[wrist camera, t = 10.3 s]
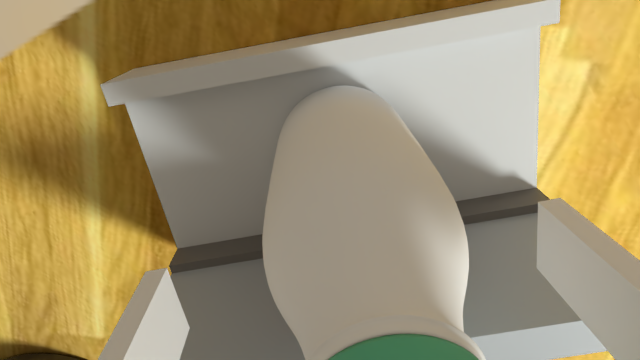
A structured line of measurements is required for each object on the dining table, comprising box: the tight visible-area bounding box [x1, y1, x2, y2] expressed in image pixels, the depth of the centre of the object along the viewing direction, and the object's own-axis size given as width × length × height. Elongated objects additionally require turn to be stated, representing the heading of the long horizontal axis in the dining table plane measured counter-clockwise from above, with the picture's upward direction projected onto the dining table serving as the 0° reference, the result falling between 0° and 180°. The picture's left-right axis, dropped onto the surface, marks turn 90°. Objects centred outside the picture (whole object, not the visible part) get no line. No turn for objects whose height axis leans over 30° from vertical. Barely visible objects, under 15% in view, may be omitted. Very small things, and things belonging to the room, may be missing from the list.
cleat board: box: [100, 0, 608, 360], centre depth 24 cm, size 24×14×14 cm, turn 100°
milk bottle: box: [262, 85, 486, 360], centre depth 18 cm, size 8×8×20 cm
